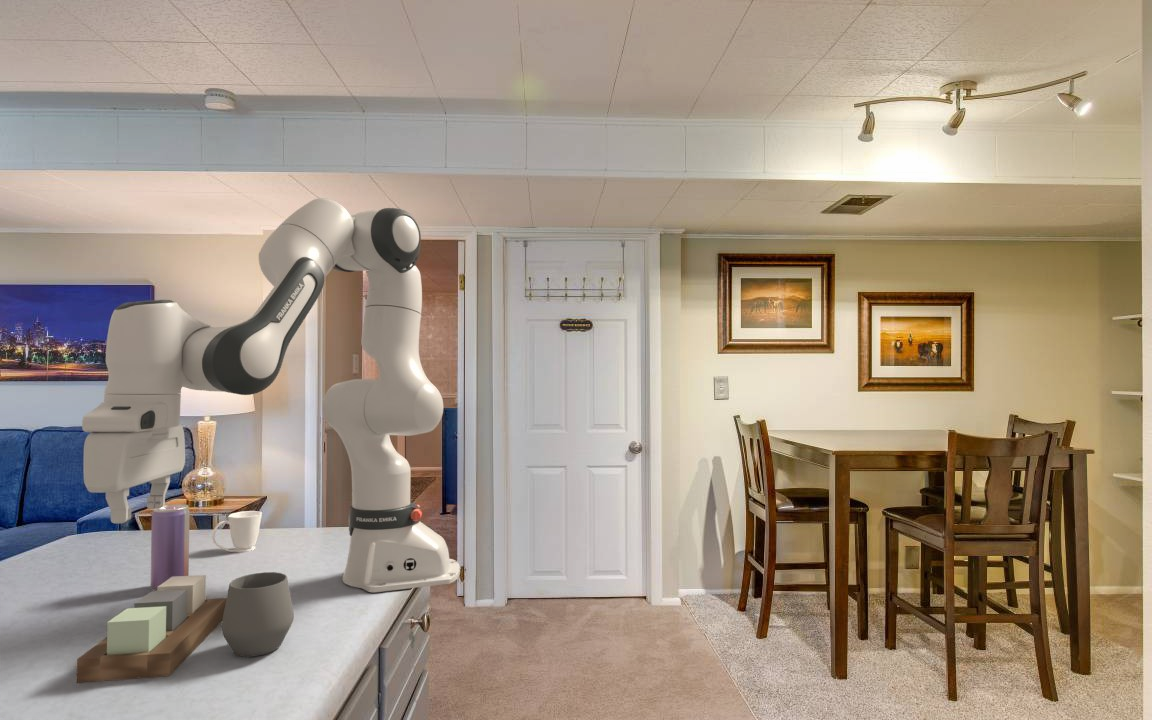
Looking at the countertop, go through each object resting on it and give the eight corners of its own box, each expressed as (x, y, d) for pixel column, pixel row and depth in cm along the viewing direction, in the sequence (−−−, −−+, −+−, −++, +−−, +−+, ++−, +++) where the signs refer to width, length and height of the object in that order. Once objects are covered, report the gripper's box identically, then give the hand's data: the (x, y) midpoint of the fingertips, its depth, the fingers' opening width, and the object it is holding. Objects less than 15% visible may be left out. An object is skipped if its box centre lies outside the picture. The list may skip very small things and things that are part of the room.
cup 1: (265, 550, 143) (266, 514, 144) (215, 558, 137) (216, 521, 137) (257, 543, 149) (258, 509, 149) (209, 551, 142) (209, 515, 142)
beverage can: (170, 594, 115) (171, 511, 115) (142, 591, 116) (143, 509, 116) (195, 583, 121) (197, 504, 121) (169, 581, 122) (170, 503, 122)
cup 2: (217, 668, 87) (218, 594, 87) (224, 641, 95) (225, 574, 95) (293, 656, 90) (293, 585, 90) (293, 631, 99) (294, 567, 99)
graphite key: (186, 618, 97) (187, 589, 97) (172, 631, 92) (172, 601, 92) (150, 620, 96) (151, 591, 96) (133, 634, 91) (134, 603, 91)
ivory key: (205, 602, 104) (205, 575, 104) (192, 613, 99) (192, 585, 99) (171, 603, 103) (172, 576, 103) (157, 615, 98) (157, 586, 98)
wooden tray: (227, 615, 105) (227, 597, 105) (169, 675, 84) (169, 653, 84) (153, 620, 103) (154, 601, 103) (76, 682, 82) (76, 659, 82)
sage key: (165, 637, 90) (166, 606, 90) (148, 652, 85) (149, 619, 85) (126, 640, 89) (127, 608, 89) (106, 655, 84) (107, 622, 84)
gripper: (154, 411, 98) (150, 501, 98) (73, 418, 78) (69, 532, 77) (198, 411, 99) (195, 500, 99) (130, 419, 79) (126, 531, 78)
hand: (139, 514), depth 88 cm, fingers open, 8 cm apart
